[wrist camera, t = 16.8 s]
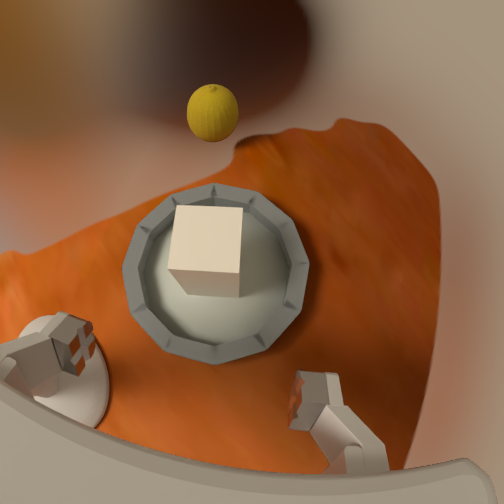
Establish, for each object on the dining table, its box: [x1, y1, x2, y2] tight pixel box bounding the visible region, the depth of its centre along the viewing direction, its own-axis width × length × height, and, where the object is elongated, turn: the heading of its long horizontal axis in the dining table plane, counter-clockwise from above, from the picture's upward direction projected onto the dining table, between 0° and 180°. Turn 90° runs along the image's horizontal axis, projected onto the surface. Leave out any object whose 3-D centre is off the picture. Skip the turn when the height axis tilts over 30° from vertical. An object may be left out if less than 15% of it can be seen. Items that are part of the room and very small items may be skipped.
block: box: [167, 205, 243, 298], centre depth 23 cm, size 5×5×8 cm
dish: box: [122, 183, 309, 365], centre depth 27 cm, size 16×16×3 cm
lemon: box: [187, 84, 239, 142], centre depth 30 cm, size 6×6×8 cm
